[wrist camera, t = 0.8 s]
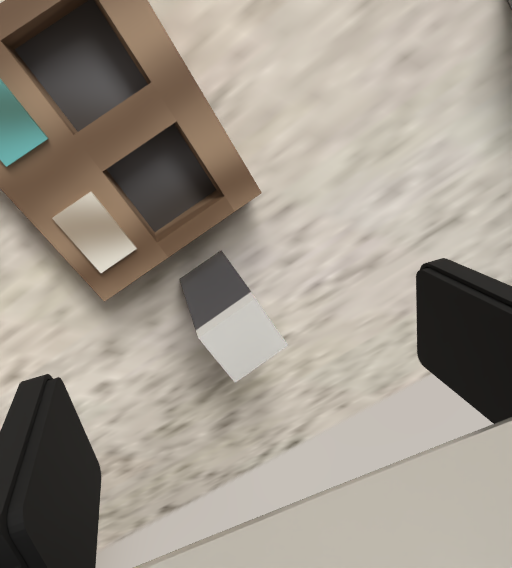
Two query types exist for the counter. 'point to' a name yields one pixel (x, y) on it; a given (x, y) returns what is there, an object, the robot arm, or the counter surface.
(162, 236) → the socket block
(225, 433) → the counter surface
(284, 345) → the plug
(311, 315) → the counter surface
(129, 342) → the counter surface
